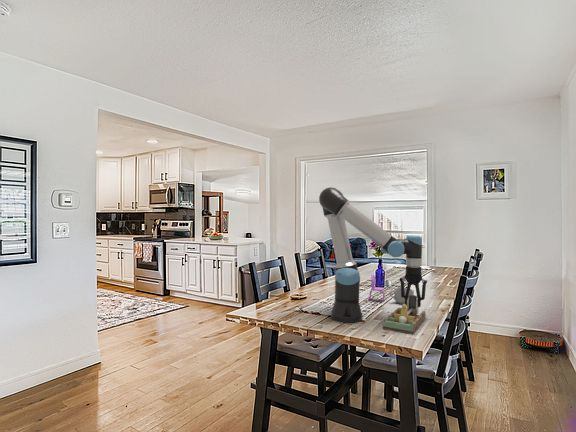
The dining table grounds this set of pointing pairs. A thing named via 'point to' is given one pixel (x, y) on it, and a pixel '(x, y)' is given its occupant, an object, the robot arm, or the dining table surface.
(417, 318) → the tray
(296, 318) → the dining table surface
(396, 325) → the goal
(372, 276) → the chair
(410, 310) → the kicker
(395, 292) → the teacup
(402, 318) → the ball
